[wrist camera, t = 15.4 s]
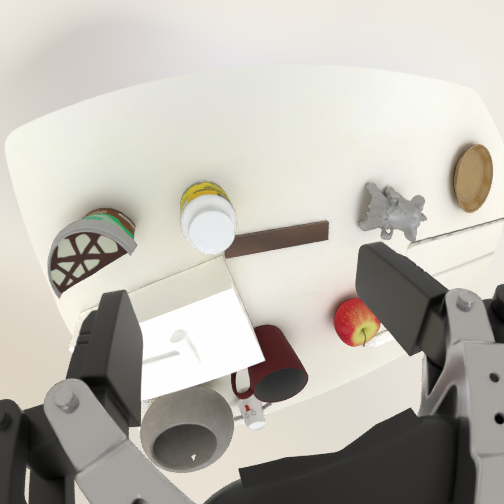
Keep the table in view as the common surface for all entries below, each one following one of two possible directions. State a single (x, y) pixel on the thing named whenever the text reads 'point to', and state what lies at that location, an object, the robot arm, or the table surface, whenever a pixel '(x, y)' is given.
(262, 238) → the plank
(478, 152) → the plant saucer
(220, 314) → the tissue box
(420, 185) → the table surface
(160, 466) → the planter
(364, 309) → the apple
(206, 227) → the pill bottle
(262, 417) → the toy figure
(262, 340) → the mug
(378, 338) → the marker
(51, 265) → the food container
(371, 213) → the elephant statuette
